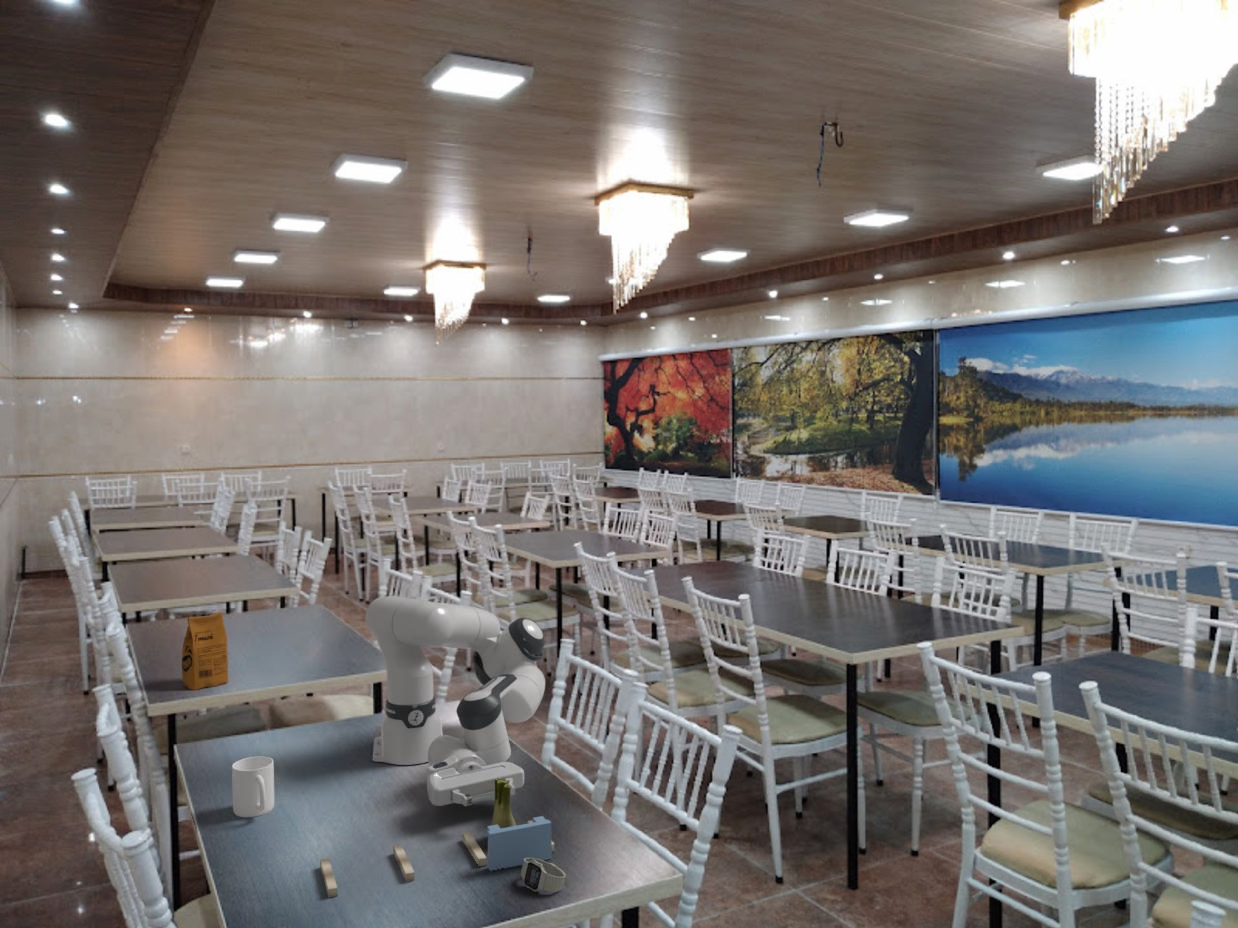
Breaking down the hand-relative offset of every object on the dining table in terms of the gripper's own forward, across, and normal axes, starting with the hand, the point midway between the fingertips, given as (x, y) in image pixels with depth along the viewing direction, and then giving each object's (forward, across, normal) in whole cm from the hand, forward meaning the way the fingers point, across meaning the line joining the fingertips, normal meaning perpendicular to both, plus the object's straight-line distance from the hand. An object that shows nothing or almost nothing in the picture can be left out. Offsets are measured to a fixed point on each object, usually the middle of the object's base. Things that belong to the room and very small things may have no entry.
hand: (490, 796), depth 194 cm
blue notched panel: (+17, +1, -6) cm, 18 cm away
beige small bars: (+8, +14, -6) cm, 17 cm away
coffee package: (-140, +37, -8) cm, 145 cm away
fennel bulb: (+7, 0, -6) cm, 9 cm away
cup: (-32, +40, -7) cm, 52 cm away
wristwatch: (+26, +1, -6) cm, 27 cm away
